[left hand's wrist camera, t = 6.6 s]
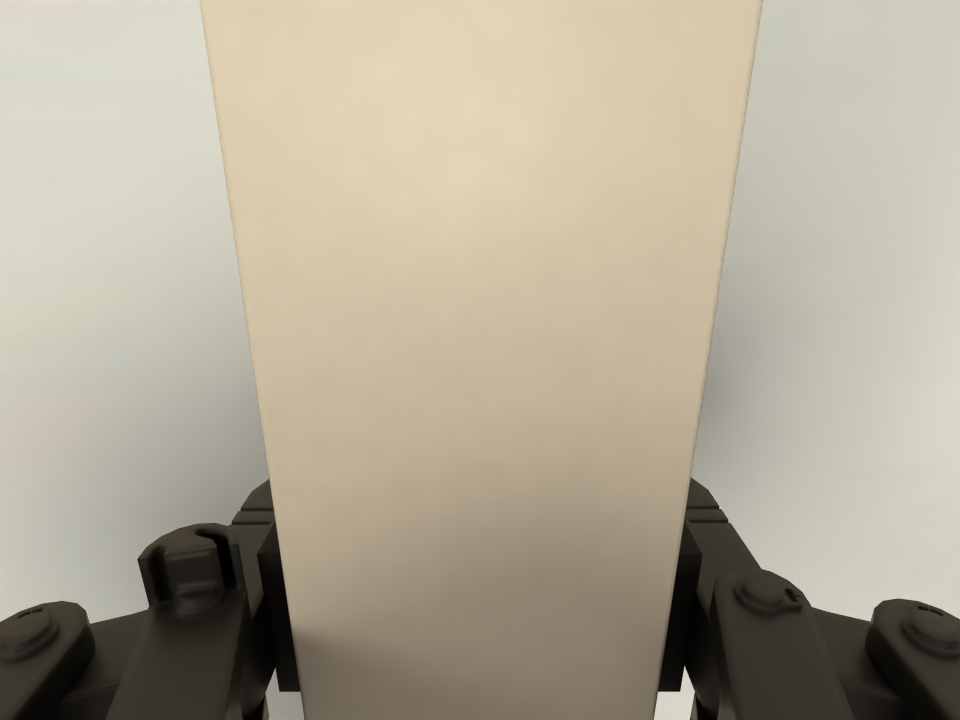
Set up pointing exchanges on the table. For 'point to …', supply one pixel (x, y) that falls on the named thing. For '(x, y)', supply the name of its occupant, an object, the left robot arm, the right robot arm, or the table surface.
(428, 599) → the bar
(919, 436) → the table surface
